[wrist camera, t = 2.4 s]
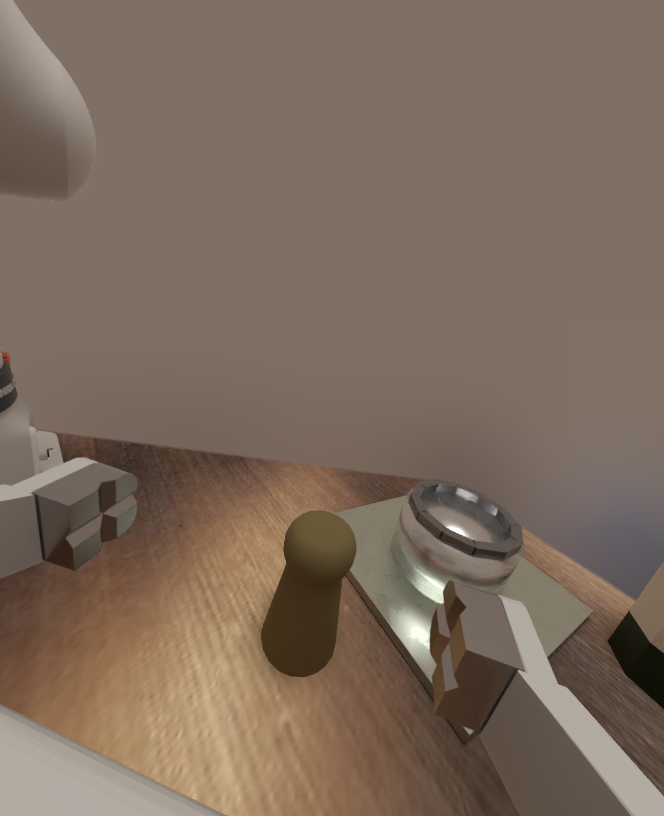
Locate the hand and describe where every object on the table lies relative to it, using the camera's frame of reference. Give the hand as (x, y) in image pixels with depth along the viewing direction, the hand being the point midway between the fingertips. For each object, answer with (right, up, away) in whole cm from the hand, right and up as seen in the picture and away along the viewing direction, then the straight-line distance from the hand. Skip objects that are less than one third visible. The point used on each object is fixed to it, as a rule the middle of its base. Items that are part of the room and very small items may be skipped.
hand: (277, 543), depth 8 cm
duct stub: (+14, -15, +28) cm, 34 cm away
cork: (-1, -15, +18) cm, 24 cm away
